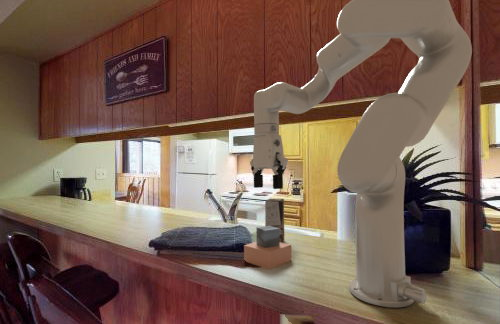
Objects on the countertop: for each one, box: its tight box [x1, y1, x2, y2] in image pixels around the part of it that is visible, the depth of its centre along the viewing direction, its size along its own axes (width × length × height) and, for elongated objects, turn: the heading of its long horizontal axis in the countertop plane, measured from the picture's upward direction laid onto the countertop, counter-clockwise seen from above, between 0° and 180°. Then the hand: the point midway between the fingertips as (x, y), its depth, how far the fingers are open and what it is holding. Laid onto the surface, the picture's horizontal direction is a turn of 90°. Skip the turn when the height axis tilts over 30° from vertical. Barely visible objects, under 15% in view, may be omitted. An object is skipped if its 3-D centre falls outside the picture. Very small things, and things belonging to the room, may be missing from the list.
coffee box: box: [264, 198, 285, 243], centre depth 99 cm, size 9×6×16 cm
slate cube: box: [255, 225, 280, 248], centre depth 80 cm, size 5×5×5 cm
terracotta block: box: [243, 241, 292, 270], centre depth 80 cm, size 10×10×5 cm
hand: (267, 188), depth 80 cm, fingers open, 9 cm apart
